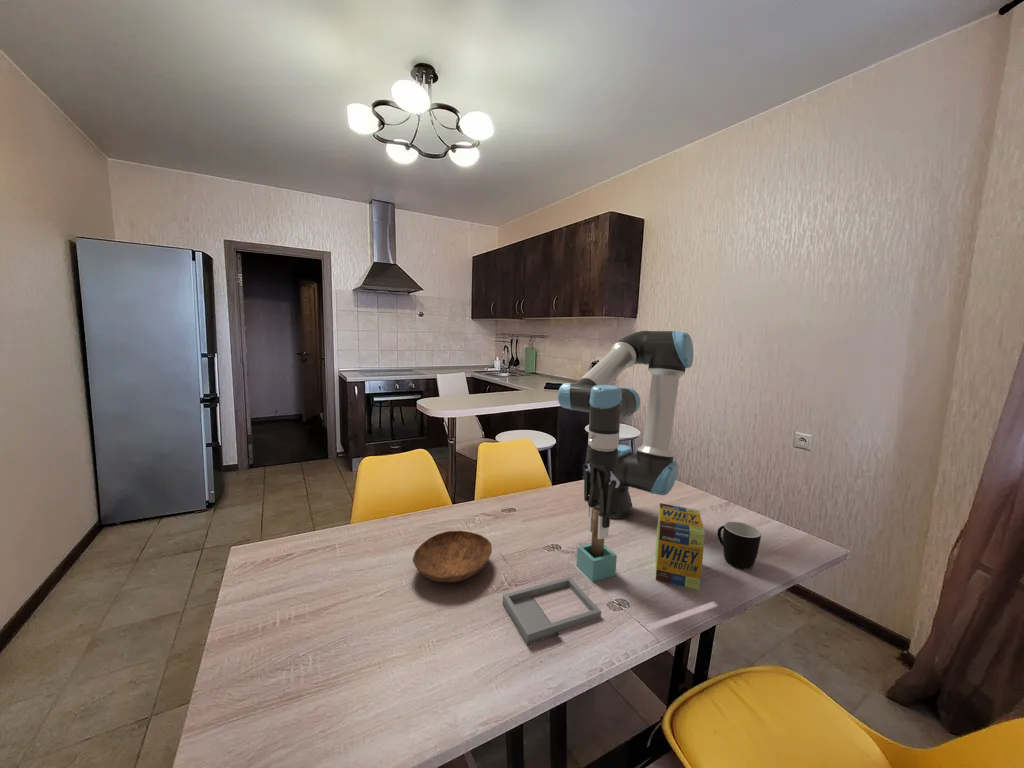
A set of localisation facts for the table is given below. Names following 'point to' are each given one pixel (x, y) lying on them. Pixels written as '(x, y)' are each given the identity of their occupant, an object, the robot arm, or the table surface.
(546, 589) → the tray
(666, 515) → the protein box
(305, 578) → the table surface
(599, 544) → the dowel
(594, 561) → the teal square container
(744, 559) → the mug
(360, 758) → the table surface
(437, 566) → the bowl
